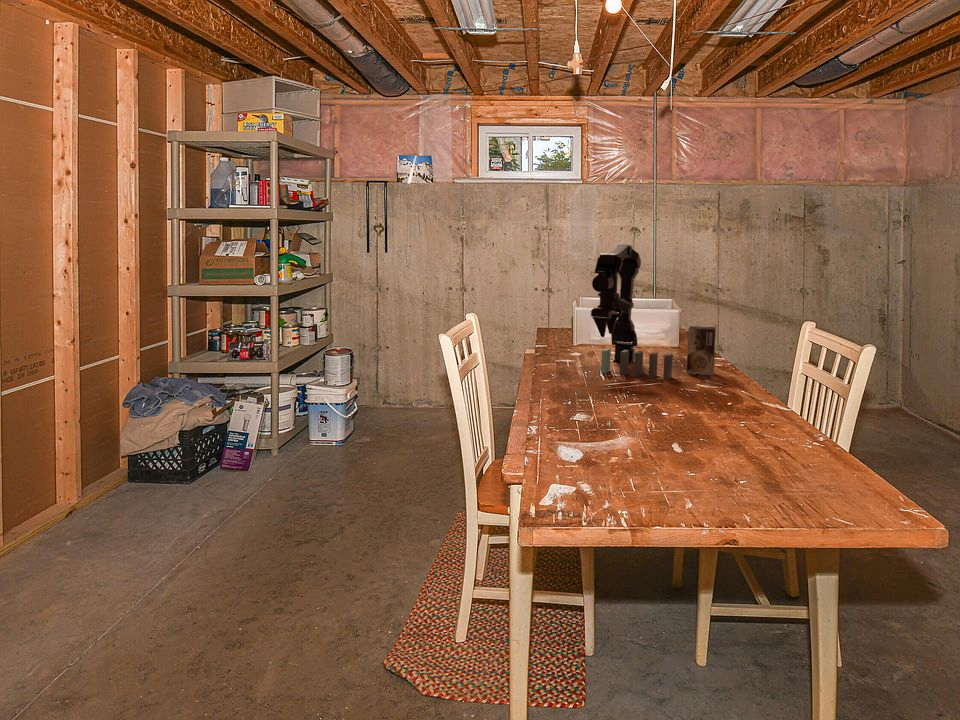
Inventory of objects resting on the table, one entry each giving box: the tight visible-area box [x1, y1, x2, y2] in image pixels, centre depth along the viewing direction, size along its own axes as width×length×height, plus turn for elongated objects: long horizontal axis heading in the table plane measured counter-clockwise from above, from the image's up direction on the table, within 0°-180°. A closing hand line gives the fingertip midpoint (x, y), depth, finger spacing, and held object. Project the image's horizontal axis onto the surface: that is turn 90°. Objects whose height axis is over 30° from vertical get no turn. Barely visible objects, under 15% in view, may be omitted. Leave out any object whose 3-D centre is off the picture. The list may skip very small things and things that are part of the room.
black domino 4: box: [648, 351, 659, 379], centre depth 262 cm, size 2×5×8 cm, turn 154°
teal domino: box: [600, 348, 612, 374], centre depth 269 cm, size 2×5×8 cm, turn 153°
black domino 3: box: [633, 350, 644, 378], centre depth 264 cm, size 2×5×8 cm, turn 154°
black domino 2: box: [619, 350, 630, 376], centre depth 267 cm, size 2×5×8 cm, turn 154°
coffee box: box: [685, 326, 717, 376], centre depth 268 cm, size 9×6×16 cm
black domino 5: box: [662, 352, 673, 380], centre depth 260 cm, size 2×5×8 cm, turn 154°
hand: (606, 335), depth 268 cm, fingers open, 9 cm apart
